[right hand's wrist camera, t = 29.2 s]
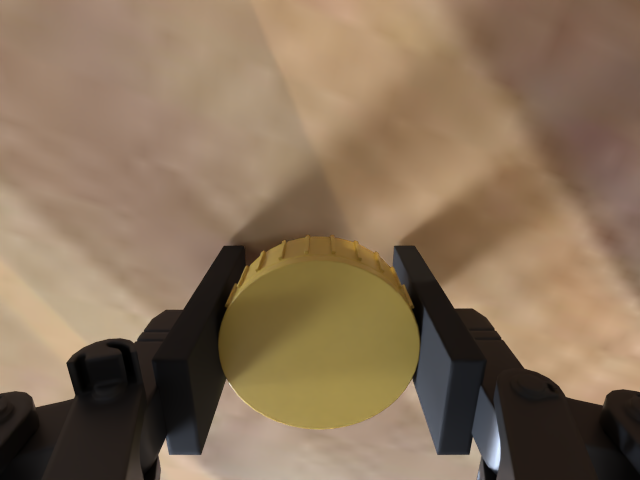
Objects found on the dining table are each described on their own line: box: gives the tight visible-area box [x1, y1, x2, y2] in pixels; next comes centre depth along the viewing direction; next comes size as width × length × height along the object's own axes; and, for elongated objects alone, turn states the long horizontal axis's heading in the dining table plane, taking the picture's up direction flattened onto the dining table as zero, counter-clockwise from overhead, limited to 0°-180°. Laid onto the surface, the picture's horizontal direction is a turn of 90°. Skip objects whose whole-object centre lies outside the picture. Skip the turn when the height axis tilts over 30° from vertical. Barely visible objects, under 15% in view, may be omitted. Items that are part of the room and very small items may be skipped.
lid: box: [218, 235, 420, 429], centre depth 12 cm, size 6×6×2 cm
